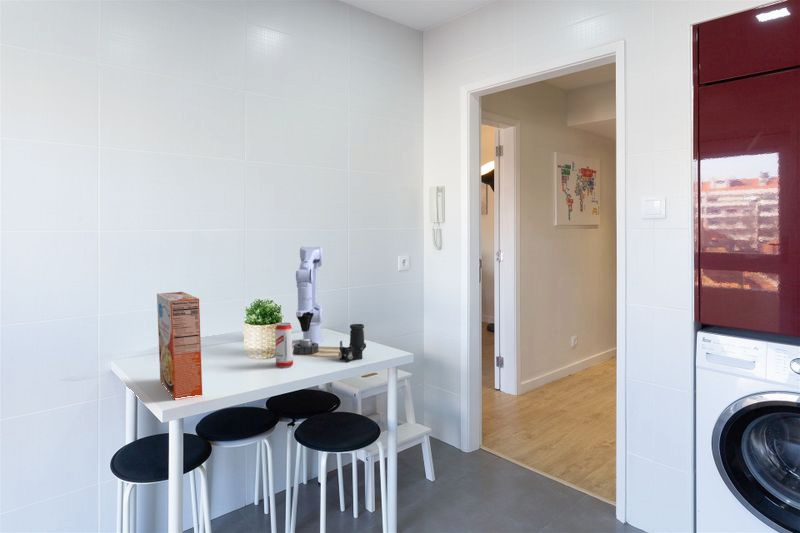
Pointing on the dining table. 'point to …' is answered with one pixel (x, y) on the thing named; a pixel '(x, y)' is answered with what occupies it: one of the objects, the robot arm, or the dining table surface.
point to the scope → (353, 344)
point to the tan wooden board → (324, 352)
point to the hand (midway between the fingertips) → (305, 331)
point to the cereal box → (179, 343)
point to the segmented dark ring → (305, 349)
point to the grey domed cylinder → (305, 342)
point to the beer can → (284, 345)
